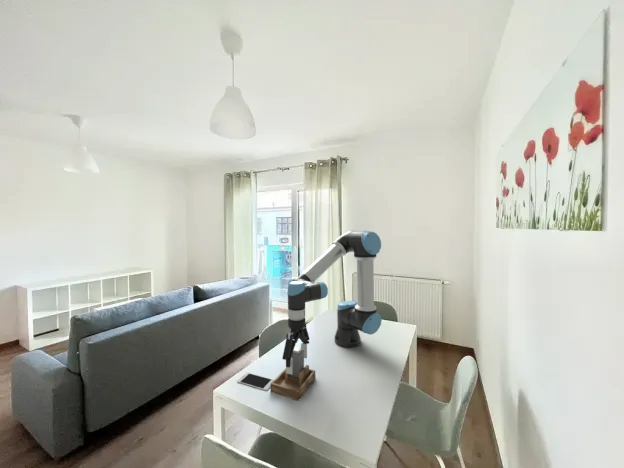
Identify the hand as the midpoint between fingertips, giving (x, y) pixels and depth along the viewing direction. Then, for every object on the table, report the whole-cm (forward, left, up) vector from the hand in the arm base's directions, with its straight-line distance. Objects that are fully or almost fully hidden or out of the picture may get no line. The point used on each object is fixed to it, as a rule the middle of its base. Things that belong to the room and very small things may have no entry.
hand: (297, 365), depth 113 cm
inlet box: (+3, 0, -7) cm, 8 cm away
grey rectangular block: (0, 0, -6) cm, 6 cm away
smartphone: (+8, -16, -8) cm, 19 cm away
